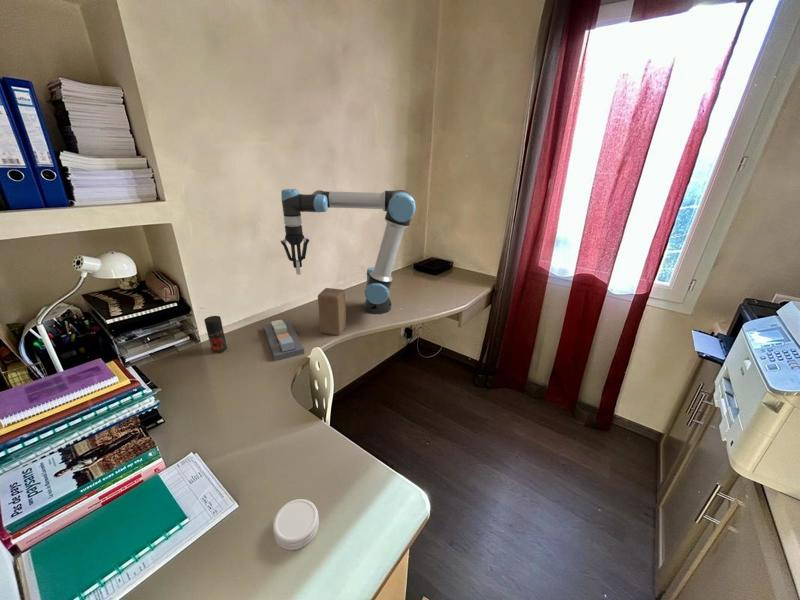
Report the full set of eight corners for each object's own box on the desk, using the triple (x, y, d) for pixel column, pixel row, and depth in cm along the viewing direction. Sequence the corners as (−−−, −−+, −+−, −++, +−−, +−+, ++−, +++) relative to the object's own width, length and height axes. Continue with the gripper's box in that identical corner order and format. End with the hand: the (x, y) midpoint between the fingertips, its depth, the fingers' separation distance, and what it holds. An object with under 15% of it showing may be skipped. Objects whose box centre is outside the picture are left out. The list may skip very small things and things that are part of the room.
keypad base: (289, 324, 167) (289, 320, 166) (304, 353, 144) (303, 348, 143) (264, 329, 161) (263, 325, 160) (274, 360, 138) (274, 355, 137)
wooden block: (339, 336, 157) (337, 297, 149) (319, 333, 159) (316, 295, 151) (347, 326, 166) (345, 288, 158) (328, 323, 168) (325, 286, 160)
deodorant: (208, 352, 143) (200, 320, 137) (219, 345, 148) (212, 314, 142) (219, 354, 141) (212, 323, 135) (230, 347, 146) (223, 317, 140)
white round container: (264, 541, 76) (262, 531, 74) (292, 501, 84) (291, 492, 83) (302, 559, 73) (301, 549, 71) (327, 516, 81) (326, 506, 80)
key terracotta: (288, 339, 153) (288, 332, 151) (291, 344, 149) (290, 337, 147) (277, 341, 150) (276, 335, 149) (279, 347, 146) (278, 340, 145)
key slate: (291, 343, 146) (291, 336, 145) (294, 348, 142) (293, 341, 141) (280, 346, 144) (279, 338, 143) (282, 351, 140) (281, 344, 139)
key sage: (285, 329, 157) (284, 322, 156) (287, 333, 153) (286, 327, 152) (274, 331, 155) (273, 324, 154) (276, 336, 151) (275, 329, 150)
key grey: (282, 325, 164) (282, 319, 162) (284, 330, 160) (284, 323, 158) (272, 328, 161) (271, 321, 160) (273, 332, 157) (272, 326, 156)
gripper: (305, 222, 159) (309, 269, 169) (276, 224, 153) (283, 273, 163) (309, 225, 153) (313, 274, 163) (280, 227, 147) (286, 278, 157)
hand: (298, 273), depth 163 cm, fingers closed
